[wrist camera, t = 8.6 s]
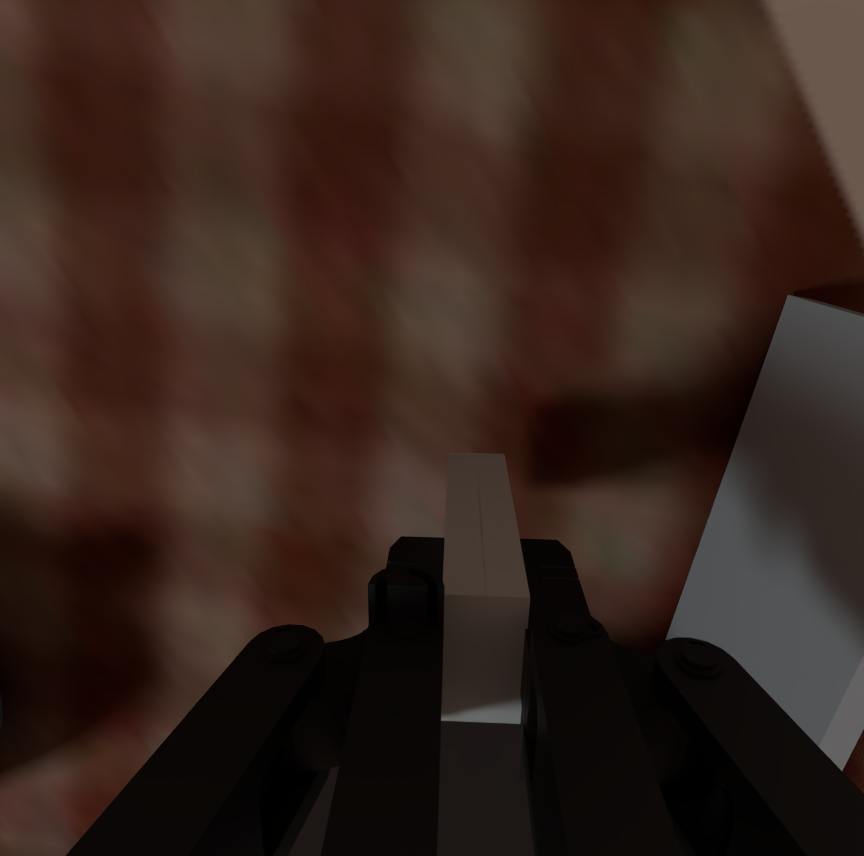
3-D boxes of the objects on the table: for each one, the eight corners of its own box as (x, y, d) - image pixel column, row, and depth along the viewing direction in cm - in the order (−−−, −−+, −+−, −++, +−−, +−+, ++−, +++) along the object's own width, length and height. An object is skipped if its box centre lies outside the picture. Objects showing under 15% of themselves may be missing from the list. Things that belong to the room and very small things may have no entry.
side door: (782, 294, 17) (999, 357, 10) (839, 304, 18) (1094, 374, 10) (653, 660, 22) (745, 882, 15) (699, 668, 22) (813, 892, 15)
